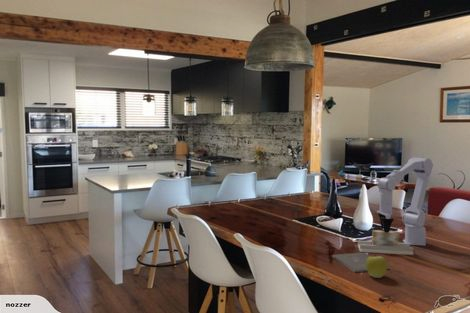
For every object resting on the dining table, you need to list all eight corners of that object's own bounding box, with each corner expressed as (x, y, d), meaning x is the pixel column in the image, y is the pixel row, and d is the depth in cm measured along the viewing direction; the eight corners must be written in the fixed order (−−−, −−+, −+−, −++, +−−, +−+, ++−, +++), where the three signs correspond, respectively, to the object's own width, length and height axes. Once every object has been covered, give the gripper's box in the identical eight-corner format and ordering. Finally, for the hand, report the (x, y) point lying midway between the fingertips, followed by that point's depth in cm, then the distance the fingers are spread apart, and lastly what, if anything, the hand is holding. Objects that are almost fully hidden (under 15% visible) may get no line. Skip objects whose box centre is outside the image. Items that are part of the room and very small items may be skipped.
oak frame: (397, 247, 199) (398, 231, 198) (398, 249, 196) (399, 233, 195) (371, 246, 201) (372, 230, 201) (372, 247, 198) (373, 231, 198)
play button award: (354, 270, 169) (332, 254, 188) (354, 273, 169) (332, 258, 188) (389, 266, 173) (363, 252, 192) (389, 270, 173) (363, 255, 192)
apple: (389, 278, 159) (382, 253, 160) (369, 281, 162) (362, 257, 163) (390, 272, 167) (383, 248, 167) (370, 275, 170) (363, 251, 170)
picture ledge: (408, 248, 201) (408, 242, 201) (413, 254, 192) (413, 248, 191) (357, 245, 206) (358, 239, 206) (360, 251, 196) (360, 245, 196)
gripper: (375, 199, 207) (374, 225, 208) (379, 205, 193) (379, 233, 194) (389, 199, 206) (388, 226, 207) (395, 205, 192) (394, 234, 193)
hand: (385, 229), depth 200 cm, fingers open, 7 cm apart
